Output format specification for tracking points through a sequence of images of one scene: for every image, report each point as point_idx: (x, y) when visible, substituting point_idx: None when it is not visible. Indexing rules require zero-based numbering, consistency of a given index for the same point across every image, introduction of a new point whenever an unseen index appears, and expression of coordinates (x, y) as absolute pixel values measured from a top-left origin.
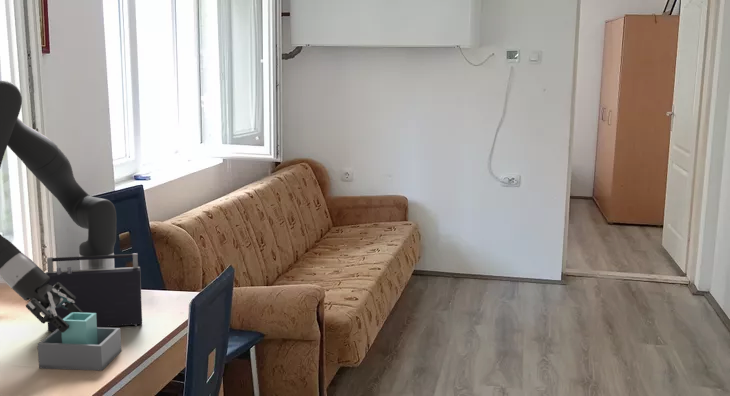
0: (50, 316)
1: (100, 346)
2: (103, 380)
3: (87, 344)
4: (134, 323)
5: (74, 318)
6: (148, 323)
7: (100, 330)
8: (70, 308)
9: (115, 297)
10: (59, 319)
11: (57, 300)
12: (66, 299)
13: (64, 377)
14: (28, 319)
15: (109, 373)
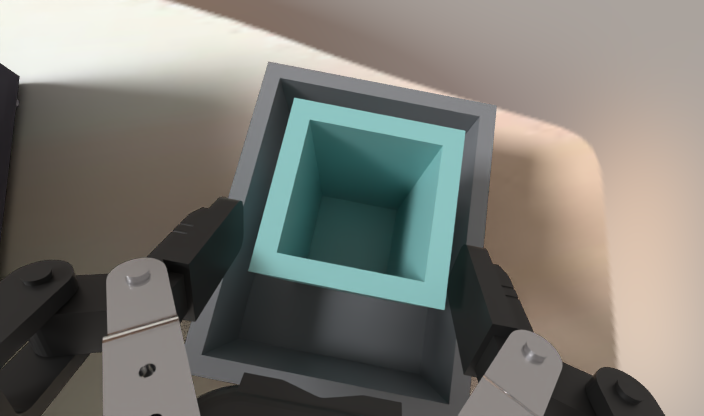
0: (624, 374)
1: (494, 109)
2: (533, 136)
3: (475, 165)
4: (13, 99)
5: (284, 252)
6: (3, 63)
7: (263, 150)
8: (197, 291)
9: None
10: (506, 306)
11: (291, 411)
12: (176, 323)
13: (512, 265)
14: None
15: None
